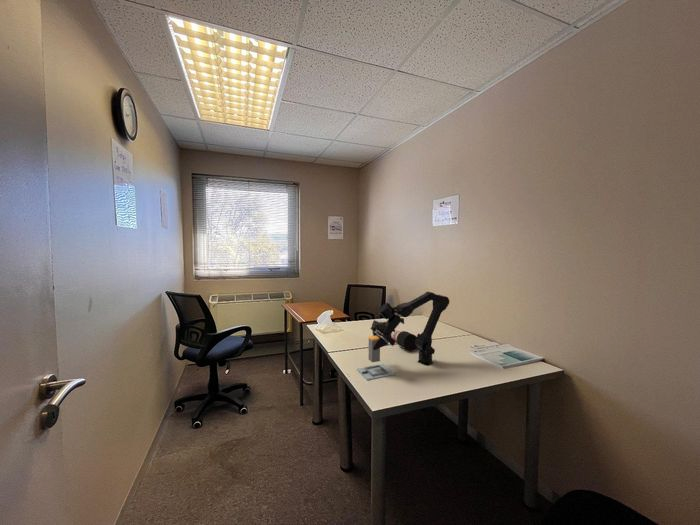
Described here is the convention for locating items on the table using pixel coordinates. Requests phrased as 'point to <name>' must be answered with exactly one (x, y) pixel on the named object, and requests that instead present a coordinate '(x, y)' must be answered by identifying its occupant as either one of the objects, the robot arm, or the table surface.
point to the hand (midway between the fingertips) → (371, 347)
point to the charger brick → (373, 354)
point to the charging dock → (375, 371)
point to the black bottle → (404, 339)
